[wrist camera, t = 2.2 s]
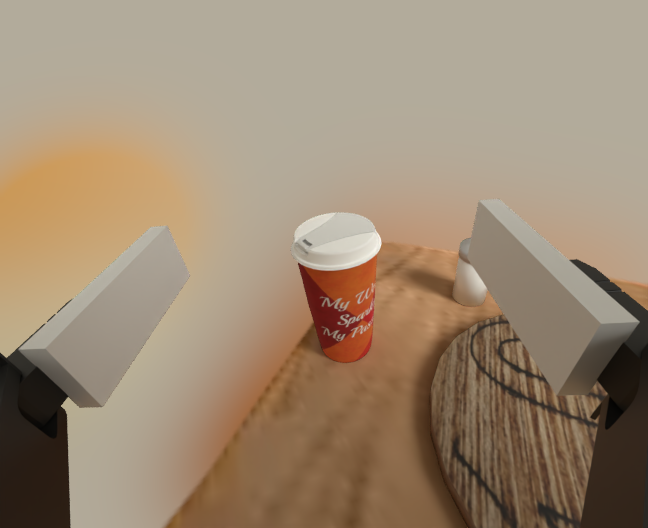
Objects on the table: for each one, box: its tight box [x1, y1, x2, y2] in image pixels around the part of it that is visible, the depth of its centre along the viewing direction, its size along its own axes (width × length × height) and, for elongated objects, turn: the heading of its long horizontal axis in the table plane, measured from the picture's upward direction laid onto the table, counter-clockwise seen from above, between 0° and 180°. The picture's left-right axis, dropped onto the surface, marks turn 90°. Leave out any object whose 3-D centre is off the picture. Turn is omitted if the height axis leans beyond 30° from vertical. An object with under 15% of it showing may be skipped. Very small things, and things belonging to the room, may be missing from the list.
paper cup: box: [291, 213, 381, 363], centre depth 28 cm, size 8×8×14 cm
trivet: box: [430, 315, 608, 528], centre depth 21 cm, size 25×25×2 cm
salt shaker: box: [452, 238, 488, 307], centre depth 34 cm, size 4×4×7 cm
